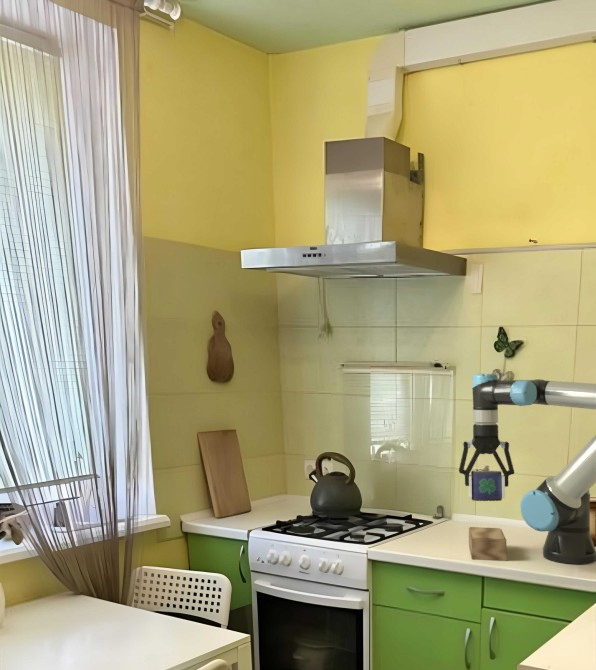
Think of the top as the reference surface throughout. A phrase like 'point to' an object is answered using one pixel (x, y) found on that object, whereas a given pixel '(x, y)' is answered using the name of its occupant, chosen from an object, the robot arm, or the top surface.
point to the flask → (486, 485)
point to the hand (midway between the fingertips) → (486, 497)
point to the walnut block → (487, 544)
